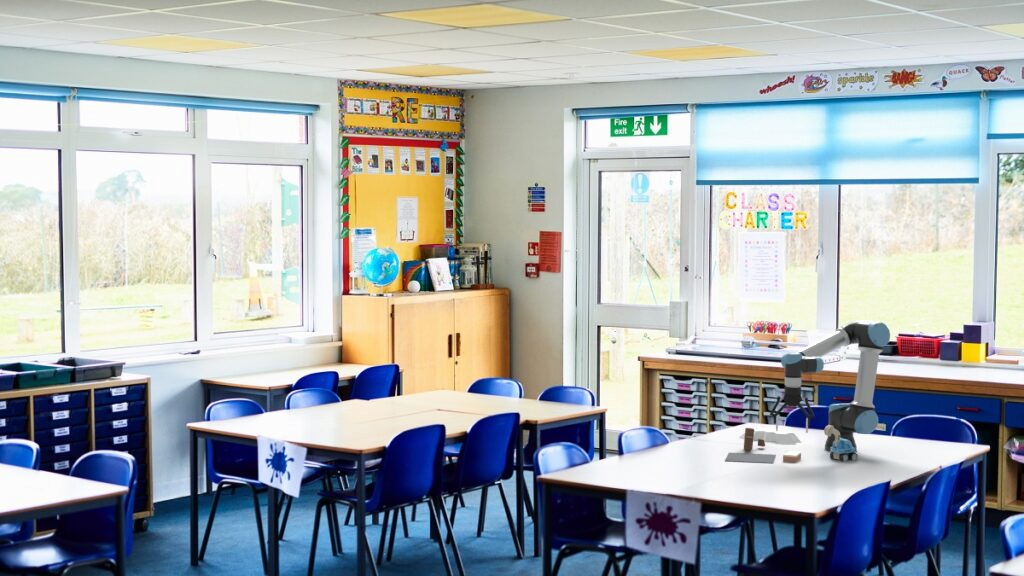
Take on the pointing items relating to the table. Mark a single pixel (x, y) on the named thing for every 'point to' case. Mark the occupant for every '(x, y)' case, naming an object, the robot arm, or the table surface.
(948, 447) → the table surface
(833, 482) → the table surface
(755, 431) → the paper sheets
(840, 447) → the toy excavator
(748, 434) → the wooden block set
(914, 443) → the table surface
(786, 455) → the card deck
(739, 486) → the table surface
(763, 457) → the rubber mat
